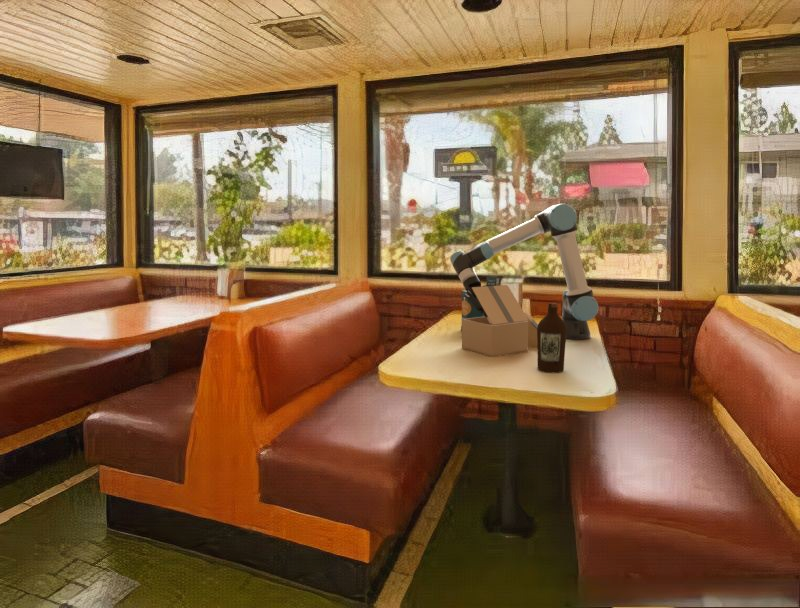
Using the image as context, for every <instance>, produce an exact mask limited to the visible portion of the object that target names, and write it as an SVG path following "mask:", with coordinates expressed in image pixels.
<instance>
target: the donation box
mask: <svg viewBox="0 0 800 608" xmlns="http://www.w3.org/2000/svg"><path fill="white" fill-rule="evenodd" d="M501 280H502V279H501V278H500V277H497V276H492V275H486V284H484V285H481V286H482V287H485V286H500V285H502V284H501V283H502V281H501ZM460 292H461V295H460V296H461V320H462V319H467V318H477V317H485V316H484V314H483V313H481V311H478V310H477V309H476V308H475V307H474V305H473V304H472V303H471V302H470V300H469V299H468V298H467V297H465V294H466V292H467V291H466V289H464V290H463V289H462V290H461V291H460ZM478 308H479V307H478ZM460 331H461V332H462V325H461V326H460Z"/></svg>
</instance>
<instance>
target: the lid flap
mask: <svg viewBox="0 0 800 608" xmlns="http://www.w3.org/2000/svg"><path fill="white" fill-rule="evenodd" d="M472 289H473V291H474V293H475V295H476V296H477V298H478V300H479V302H480V304H481V305H482V307H483V309H484V311H485V312H486V314H487V316H488V318H489V320H490V321H491V323H492V325H497V324H506V323H514V322H523V321H528V318H527V317H526V315H525V311H524V310H523V308H522V307H521V305H520V303H519V302H518V300H517V299H516V297H515V295H514V294H513V292H512V290H511V289H510V286H509V285H508V284H505V285H504V284H501V285H500V286H485V287H472Z"/></svg>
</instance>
